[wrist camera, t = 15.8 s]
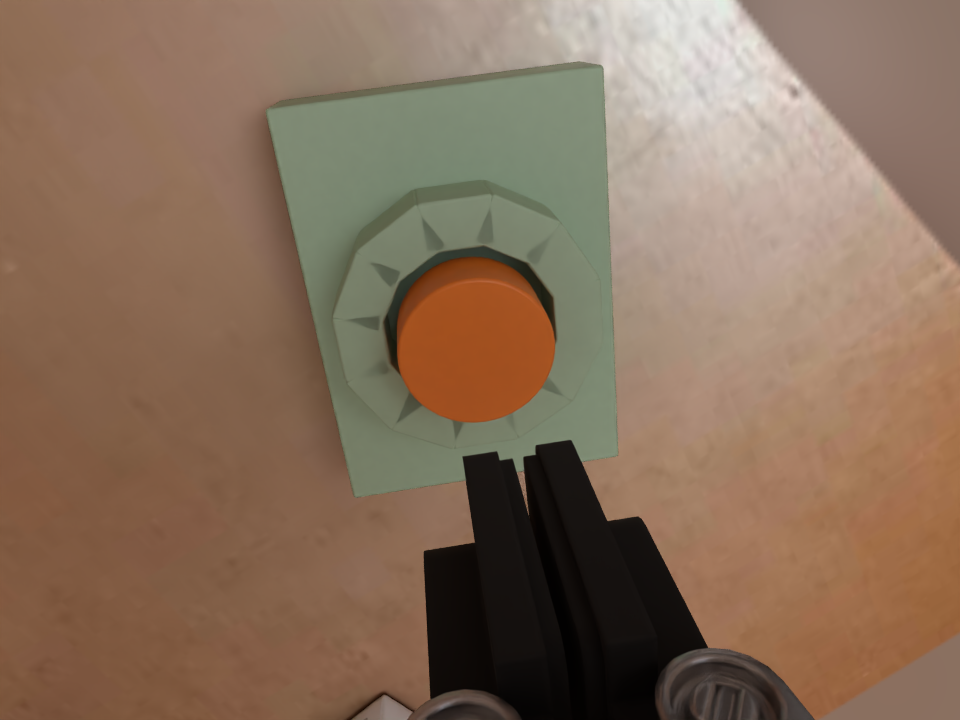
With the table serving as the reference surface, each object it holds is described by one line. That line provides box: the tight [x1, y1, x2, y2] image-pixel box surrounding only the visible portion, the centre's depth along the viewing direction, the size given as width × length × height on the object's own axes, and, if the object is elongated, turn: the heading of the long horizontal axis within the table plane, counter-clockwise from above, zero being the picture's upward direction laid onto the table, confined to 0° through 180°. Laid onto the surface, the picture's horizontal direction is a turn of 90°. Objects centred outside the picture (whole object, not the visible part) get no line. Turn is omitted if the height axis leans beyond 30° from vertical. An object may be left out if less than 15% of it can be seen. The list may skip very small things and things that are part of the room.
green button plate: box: [266, 62, 618, 498], centre depth 19 cm, size 11×8×4 cm
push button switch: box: [397, 257, 555, 423], centre depth 17 cm, size 4×4×2 cm
